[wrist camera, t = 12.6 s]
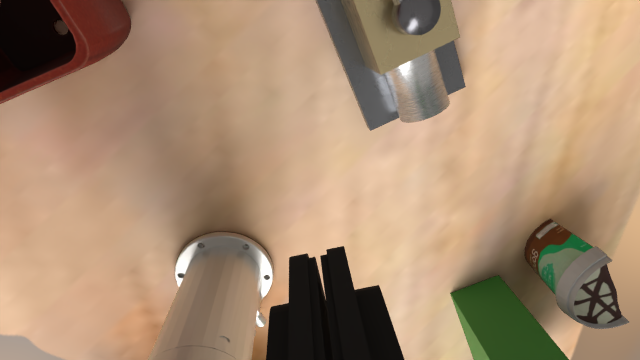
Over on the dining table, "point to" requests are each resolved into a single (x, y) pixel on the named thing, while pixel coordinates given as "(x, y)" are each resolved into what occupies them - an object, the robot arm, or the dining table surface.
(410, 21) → the valve lever
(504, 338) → the green cereal box
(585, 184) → the dining table surface
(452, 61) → the valve body
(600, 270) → the food container
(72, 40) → the plant pot
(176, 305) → the robot arm
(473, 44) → the dining table surface
